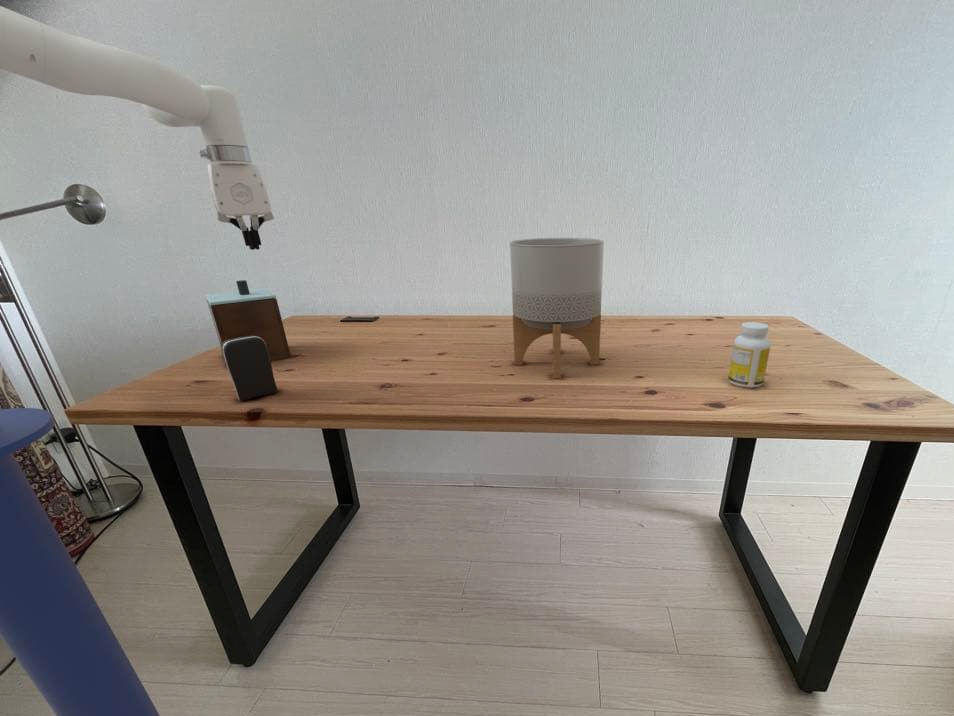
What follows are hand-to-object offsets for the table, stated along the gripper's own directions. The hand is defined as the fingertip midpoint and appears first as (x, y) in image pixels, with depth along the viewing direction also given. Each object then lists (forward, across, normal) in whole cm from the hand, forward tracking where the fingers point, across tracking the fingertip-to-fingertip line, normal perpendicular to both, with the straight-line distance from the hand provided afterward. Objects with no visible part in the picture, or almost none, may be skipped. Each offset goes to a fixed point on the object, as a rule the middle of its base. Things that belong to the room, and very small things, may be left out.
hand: (254, 248), depth 103 cm
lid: (+10, -5, 0) cm, 12 cm away
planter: (+25, +46, -51) cm, 73 cm away
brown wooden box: (+24, -6, 0) cm, 25 cm away
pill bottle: (+25, +67, -84) cm, 111 cm away
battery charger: (+24, -10, -28) cm, 39 cm away
